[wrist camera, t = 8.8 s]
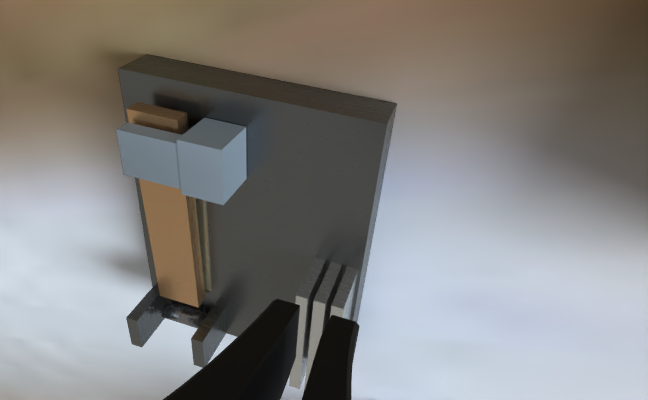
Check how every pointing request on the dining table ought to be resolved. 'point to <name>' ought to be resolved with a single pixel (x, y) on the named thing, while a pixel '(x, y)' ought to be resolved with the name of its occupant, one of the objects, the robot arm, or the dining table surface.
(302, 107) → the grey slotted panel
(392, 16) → the dining table surface
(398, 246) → the dining table surface
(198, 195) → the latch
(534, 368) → the dining table surface
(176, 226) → the strap
